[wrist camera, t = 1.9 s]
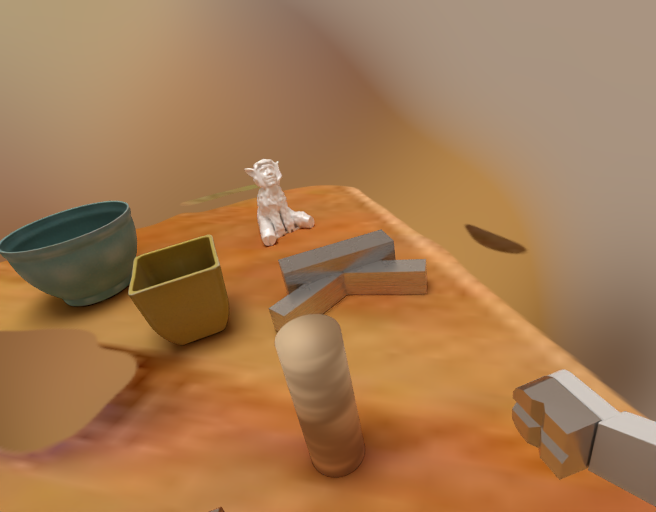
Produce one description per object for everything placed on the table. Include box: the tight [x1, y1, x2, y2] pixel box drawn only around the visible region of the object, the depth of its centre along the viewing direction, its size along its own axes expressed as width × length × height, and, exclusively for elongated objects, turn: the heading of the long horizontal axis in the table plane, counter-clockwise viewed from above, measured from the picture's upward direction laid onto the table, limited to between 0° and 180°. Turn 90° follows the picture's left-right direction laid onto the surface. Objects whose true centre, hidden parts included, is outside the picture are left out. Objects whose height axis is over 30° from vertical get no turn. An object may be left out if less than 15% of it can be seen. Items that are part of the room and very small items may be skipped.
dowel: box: [275, 314, 365, 477], centre depth 26 cm, size 4×4×11 cm
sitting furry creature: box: [244, 159, 314, 246], centre depth 62 cm, size 10×9×12 cm
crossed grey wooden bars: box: [269, 230, 427, 332], centre depth 44 cm, size 18×8×5 cm, turn 106°
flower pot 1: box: [0, 201, 137, 306], centre depth 55 cm, size 16×16×11 cm
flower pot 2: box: [128, 235, 229, 345], centre depth 43 cm, size 9×9×9 cm
